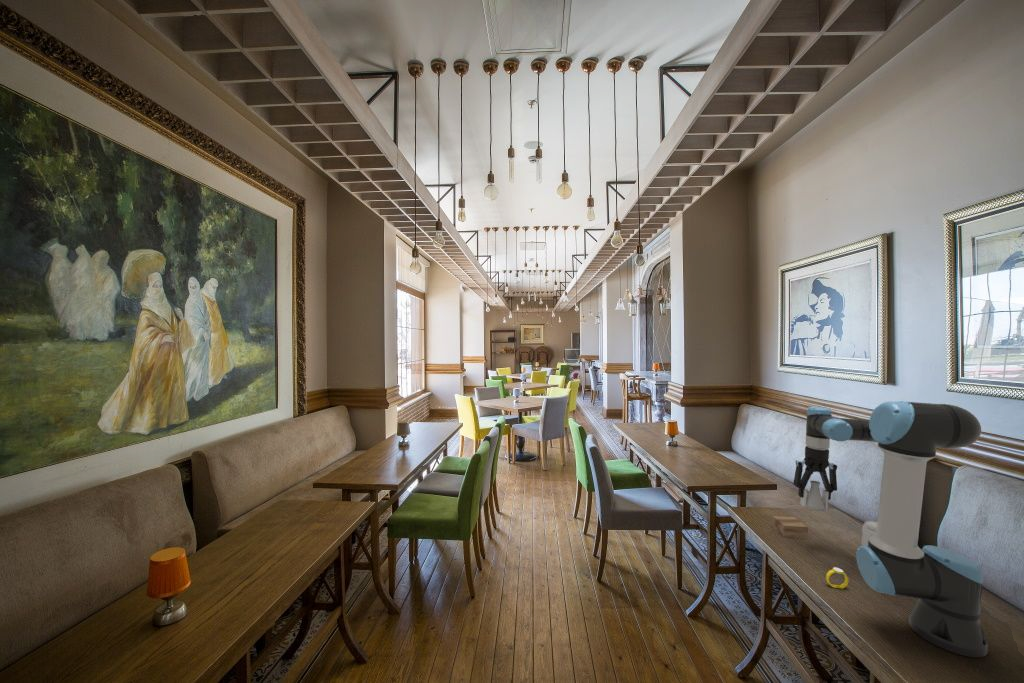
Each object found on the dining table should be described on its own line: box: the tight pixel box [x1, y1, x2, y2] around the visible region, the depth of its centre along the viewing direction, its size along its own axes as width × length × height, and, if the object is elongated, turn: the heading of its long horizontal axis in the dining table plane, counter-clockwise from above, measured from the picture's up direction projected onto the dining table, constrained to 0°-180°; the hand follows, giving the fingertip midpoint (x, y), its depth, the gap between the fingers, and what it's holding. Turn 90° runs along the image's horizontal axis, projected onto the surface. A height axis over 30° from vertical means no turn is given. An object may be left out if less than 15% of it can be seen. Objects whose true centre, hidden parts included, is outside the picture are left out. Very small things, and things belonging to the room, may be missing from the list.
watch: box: [825, 566, 849, 590], centre depth 139 cm, size 6×3×6 cm, turn 80°
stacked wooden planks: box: [771, 515, 809, 540], centre depth 176 cm, size 9×9×5 cm
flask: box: [805, 480, 826, 512], centre depth 164 cm, size 7×7×10 cm
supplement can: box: [860, 520, 877, 546], centre depth 152 cm, size 8×8×15 cm
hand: (813, 506), depth 164 cm, fingers closed on flask, 7 cm apart
